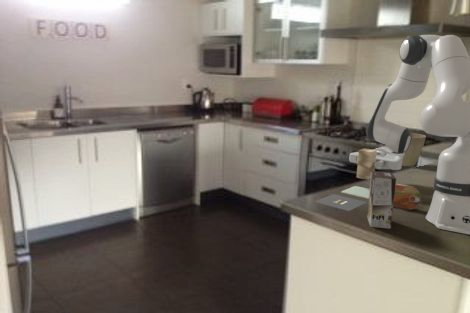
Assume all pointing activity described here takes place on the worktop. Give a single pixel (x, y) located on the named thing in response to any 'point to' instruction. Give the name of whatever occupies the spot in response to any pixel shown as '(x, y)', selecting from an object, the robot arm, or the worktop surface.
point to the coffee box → (381, 199)
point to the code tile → (340, 202)
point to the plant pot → (413, 150)
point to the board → (357, 192)
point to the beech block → (366, 163)
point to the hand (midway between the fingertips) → (366, 163)
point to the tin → (407, 197)
